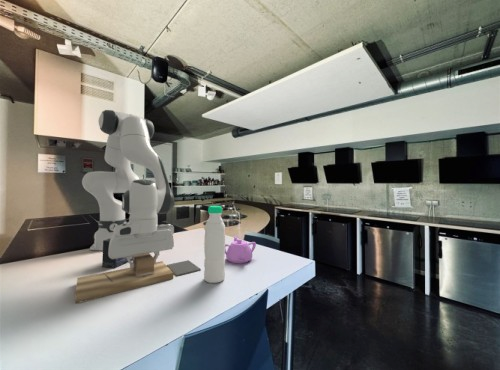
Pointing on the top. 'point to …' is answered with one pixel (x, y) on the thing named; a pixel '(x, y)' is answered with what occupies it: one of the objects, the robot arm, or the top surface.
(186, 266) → the rubber mat
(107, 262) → the small box
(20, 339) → the top surface
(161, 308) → the top surface
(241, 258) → the teapot
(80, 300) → the oak board
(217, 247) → the water bottle
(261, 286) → the top surface
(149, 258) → the block
